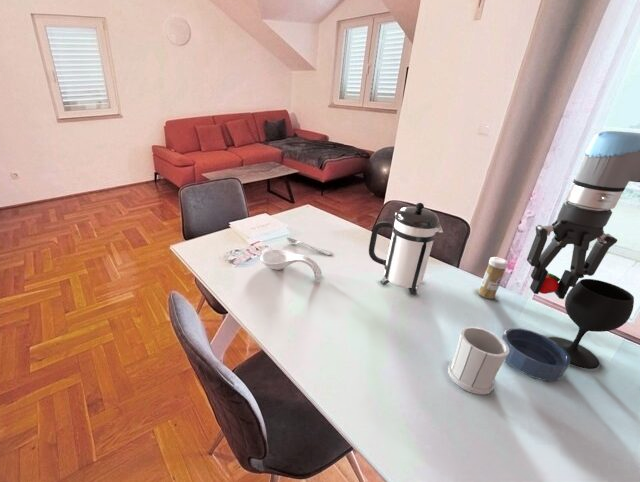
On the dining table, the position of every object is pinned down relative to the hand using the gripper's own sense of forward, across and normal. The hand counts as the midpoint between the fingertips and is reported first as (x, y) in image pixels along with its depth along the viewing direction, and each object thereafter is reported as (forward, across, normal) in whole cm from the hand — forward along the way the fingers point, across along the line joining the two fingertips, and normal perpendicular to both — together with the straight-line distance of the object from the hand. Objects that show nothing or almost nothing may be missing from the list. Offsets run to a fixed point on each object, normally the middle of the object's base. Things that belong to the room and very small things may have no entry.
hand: (546, 293), depth 77 cm
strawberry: (0, -1, 0) cm, 1 cm away
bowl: (+17, 0, -6) cm, 18 cm away
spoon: (+17, -64, +31) cm, 73 cm away
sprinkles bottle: (+17, -3, +22) cm, 28 cm away
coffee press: (+17, -30, +18) cm, 39 cm away
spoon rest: (+17, -67, +11) cm, 70 cm away
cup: (+17, -15, -17) cm, 29 cm away
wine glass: (+17, +11, +1) cm, 20 cm away
